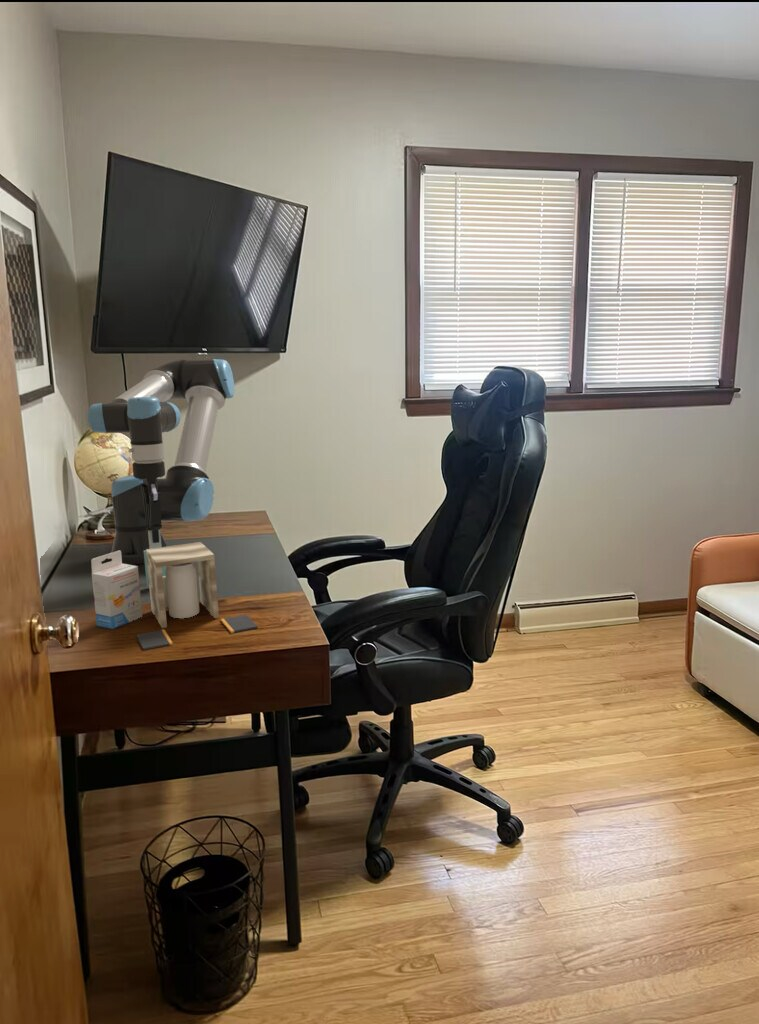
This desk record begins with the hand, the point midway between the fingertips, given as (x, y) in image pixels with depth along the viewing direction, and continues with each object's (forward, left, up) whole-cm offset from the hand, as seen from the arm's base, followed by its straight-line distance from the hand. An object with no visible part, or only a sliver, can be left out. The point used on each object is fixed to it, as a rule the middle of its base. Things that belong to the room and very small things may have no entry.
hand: (156, 554), depth 187 cm
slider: (+15, -4, -6) cm, 16 cm away
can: (+28, -7, -7) cm, 29 cm away
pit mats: (+39, -10, -7) cm, 41 cm away
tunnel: (+28, -7, -7) cm, 29 cm away
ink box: (+22, -19, -7) cm, 30 cm away
